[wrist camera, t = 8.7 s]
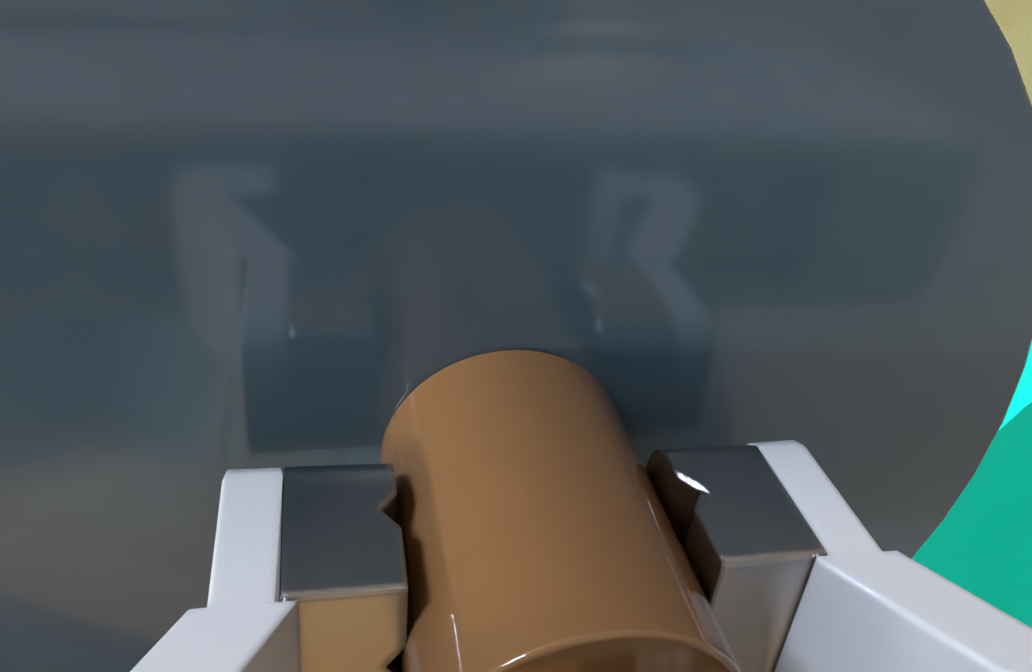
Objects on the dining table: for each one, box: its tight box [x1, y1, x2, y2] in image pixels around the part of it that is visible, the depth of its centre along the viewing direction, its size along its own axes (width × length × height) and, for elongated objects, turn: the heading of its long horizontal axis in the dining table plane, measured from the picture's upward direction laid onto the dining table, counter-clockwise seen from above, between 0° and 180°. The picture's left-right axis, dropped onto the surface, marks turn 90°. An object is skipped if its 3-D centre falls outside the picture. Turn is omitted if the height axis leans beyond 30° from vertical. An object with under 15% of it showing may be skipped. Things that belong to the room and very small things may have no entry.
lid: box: [0, 0, 1032, 672], centre depth 9 cm, size 13×13×5 cm
